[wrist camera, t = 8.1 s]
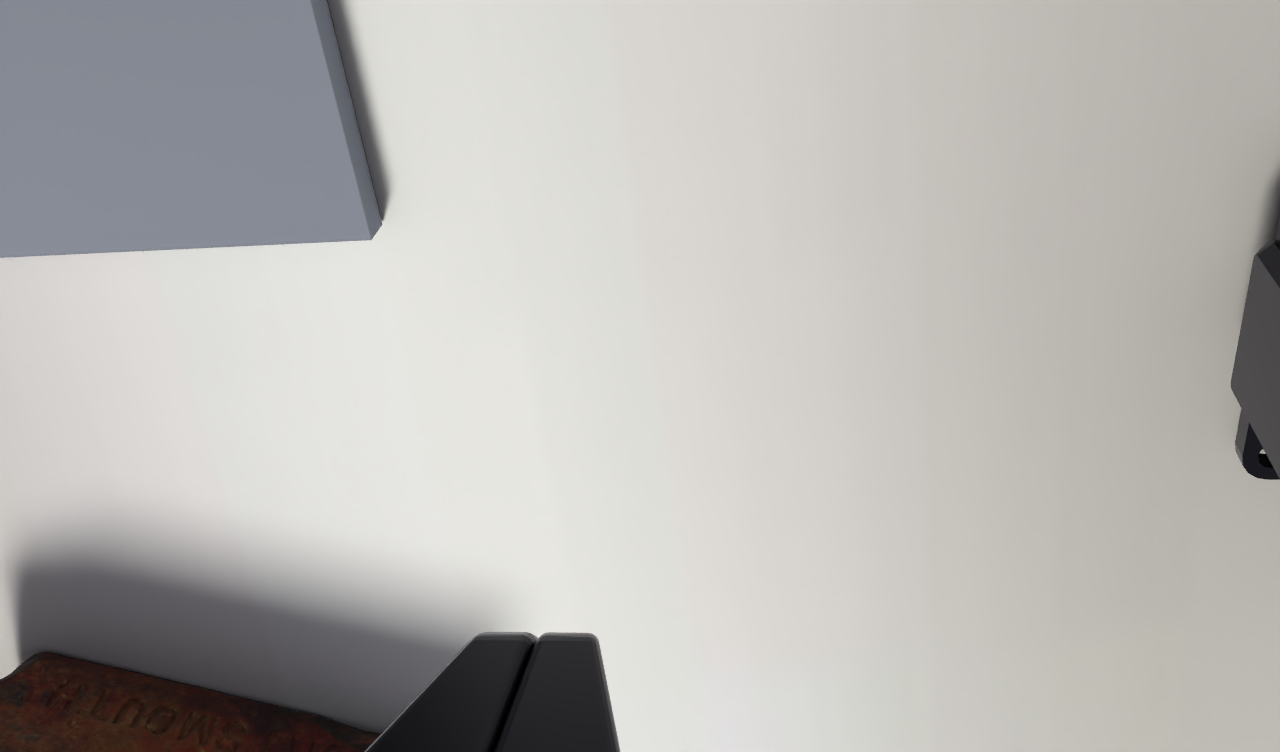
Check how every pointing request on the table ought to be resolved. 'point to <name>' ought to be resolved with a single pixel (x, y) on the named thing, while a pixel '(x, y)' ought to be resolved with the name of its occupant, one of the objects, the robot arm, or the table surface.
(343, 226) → the mat
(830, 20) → the table surface
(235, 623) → the table surface
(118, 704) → the brick
